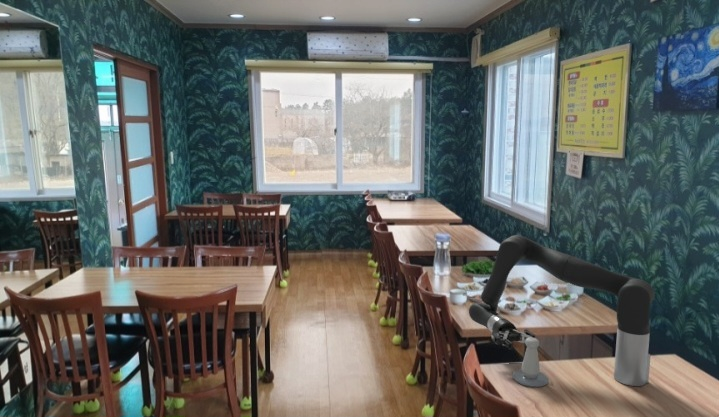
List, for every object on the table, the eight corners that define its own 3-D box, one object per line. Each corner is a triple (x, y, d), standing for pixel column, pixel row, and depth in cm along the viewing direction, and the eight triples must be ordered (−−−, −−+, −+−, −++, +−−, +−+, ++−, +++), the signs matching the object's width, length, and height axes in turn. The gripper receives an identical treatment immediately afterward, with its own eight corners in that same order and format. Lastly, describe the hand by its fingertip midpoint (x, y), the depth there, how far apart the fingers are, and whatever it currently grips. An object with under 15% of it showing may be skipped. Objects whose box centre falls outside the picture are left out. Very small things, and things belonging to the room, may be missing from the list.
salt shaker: (540, 381, 161) (542, 343, 159) (522, 379, 162) (524, 341, 160) (538, 373, 167) (540, 336, 165) (520, 371, 168) (522, 334, 166)
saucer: (536, 370, 171) (537, 368, 171) (554, 386, 160) (555, 383, 160) (506, 373, 169) (507, 370, 169) (523, 389, 158) (523, 386, 158)
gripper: (483, 319, 182) (504, 336, 166) (519, 316, 185) (543, 333, 169) (482, 338, 183) (503, 358, 167) (518, 336, 186) (542, 354, 170)
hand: (523, 345), depth 168 cm, fingers open, 8 cm apart
